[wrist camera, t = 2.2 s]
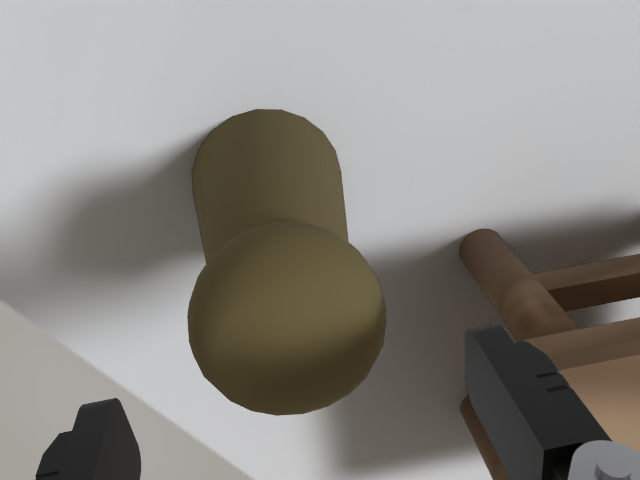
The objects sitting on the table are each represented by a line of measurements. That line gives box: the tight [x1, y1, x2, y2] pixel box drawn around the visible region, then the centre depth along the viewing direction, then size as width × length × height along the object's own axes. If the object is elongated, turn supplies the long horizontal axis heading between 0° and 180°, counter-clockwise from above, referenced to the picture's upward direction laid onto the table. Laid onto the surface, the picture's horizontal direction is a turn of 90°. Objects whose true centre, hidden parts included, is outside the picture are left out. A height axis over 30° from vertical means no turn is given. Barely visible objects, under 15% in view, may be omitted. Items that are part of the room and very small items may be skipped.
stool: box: [460, 229, 640, 480], centre depth 25 cm, size 14×14×10 cm
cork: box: [187, 109, 386, 415], centre depth 18 cm, size 6×6×11 cm
